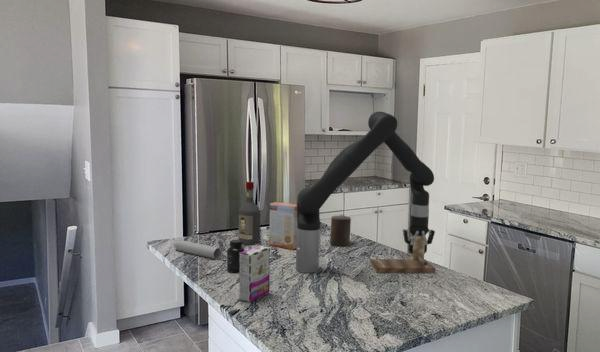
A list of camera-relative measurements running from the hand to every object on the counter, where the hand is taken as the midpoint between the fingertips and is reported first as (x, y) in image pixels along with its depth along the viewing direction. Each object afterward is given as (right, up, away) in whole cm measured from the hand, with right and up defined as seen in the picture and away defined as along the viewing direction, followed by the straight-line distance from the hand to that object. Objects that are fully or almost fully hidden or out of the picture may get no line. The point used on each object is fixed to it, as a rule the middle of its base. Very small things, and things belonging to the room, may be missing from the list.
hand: (417, 252), depth 202 cm
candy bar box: (-67, -8, -43) cm, 80 cm away
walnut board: (-8, -5, -8) cm, 13 cm away
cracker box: (-59, -1, +21) cm, 62 cm away
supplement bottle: (-77, -4, -16) cm, 79 cm away
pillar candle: (-31, -1, +28) cm, 42 cm away
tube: (-97, -2, +5) cm, 97 cm away
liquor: (-76, 0, +27) cm, 81 cm away
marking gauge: (0, -5, -4) cm, 6 cm away
